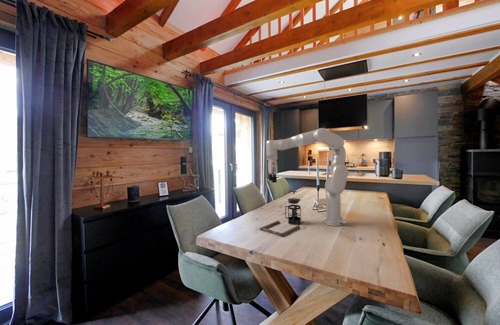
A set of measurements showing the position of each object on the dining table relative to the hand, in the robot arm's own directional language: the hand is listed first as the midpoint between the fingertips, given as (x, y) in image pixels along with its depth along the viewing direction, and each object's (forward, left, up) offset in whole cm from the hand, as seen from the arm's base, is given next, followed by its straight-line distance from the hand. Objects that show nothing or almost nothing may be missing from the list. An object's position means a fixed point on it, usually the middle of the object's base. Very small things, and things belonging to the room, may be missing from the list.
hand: (272, 181), depth 153 cm
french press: (-11, -10, -30) cm, 33 cm away
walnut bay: (-11, +6, -30) cm, 32 cm away
